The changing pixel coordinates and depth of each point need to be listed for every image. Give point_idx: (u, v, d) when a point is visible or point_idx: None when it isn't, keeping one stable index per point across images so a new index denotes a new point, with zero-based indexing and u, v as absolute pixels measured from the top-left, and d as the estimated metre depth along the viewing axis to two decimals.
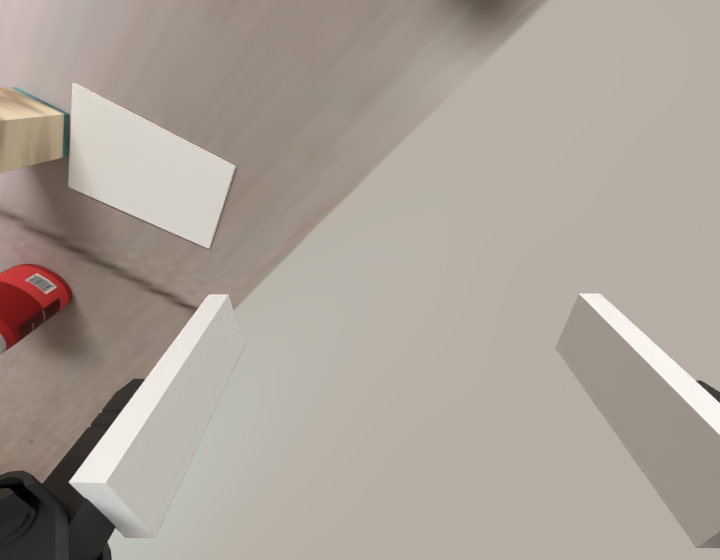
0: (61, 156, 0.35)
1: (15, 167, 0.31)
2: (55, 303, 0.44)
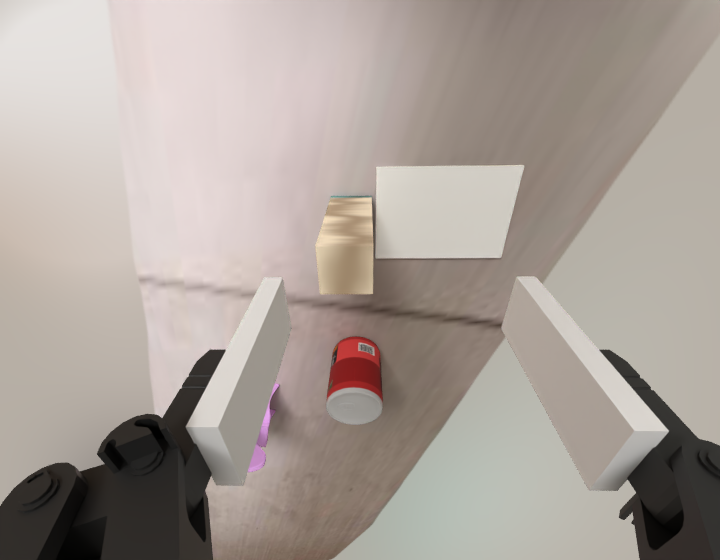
0: None
1: None
2: (380, 361, 0.50)
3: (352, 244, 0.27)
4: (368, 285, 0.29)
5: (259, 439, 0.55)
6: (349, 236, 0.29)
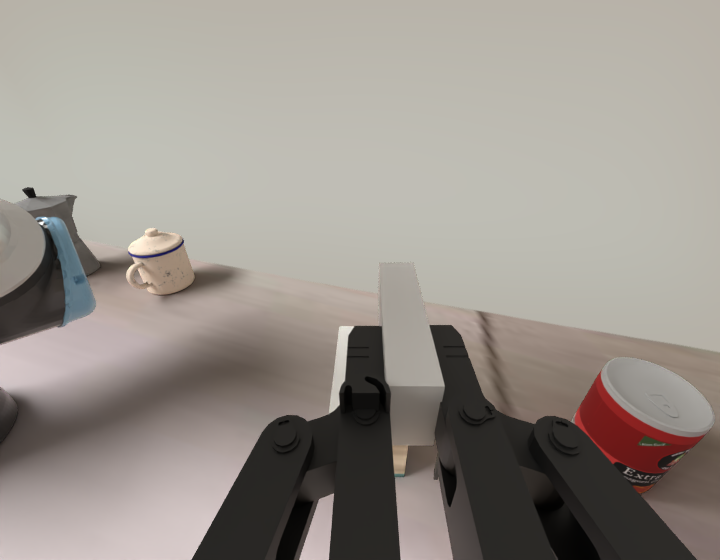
0: None
1: None
2: None
3: None
4: None
5: None
6: None
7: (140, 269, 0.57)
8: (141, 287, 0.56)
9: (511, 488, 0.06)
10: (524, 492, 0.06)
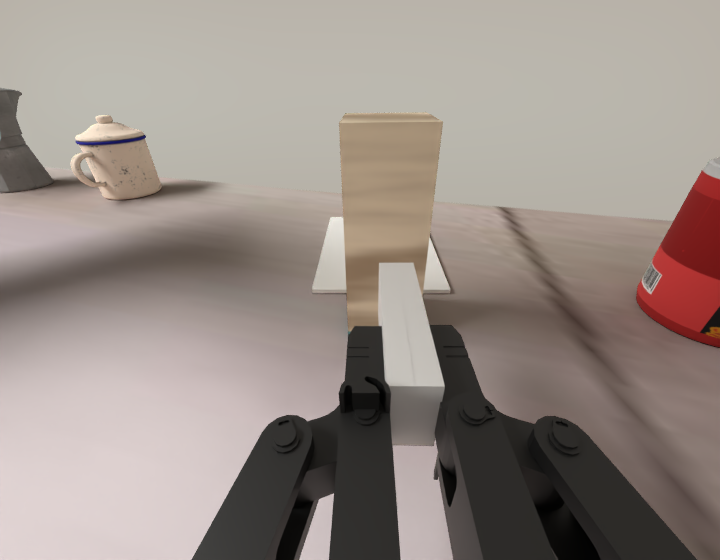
0: None
1: None
2: None
3: None
4: (411, 113, 0.19)
5: None
6: None
7: (90, 163, 0.47)
8: (90, 183, 0.46)
9: (511, 488, 0.06)
10: (524, 492, 0.06)
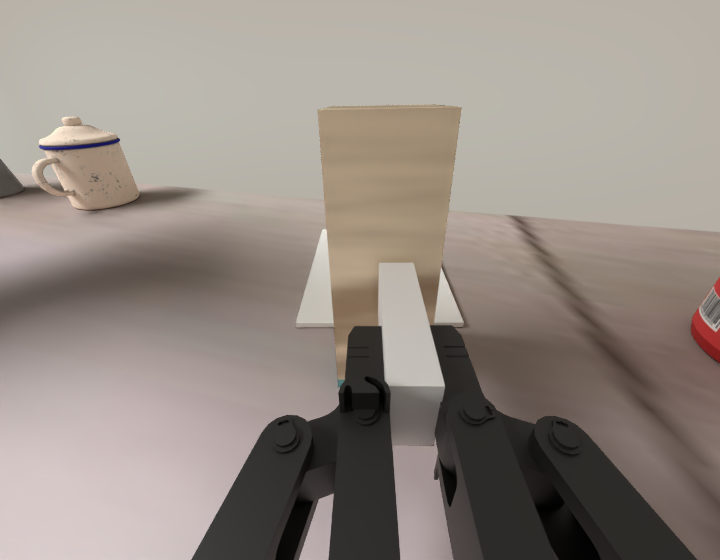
0: None
1: None
2: None
3: None
4: None
5: None
6: None
7: (56, 170, 0.43)
8: (56, 192, 0.42)
9: (511, 488, 0.06)
10: (524, 492, 0.06)
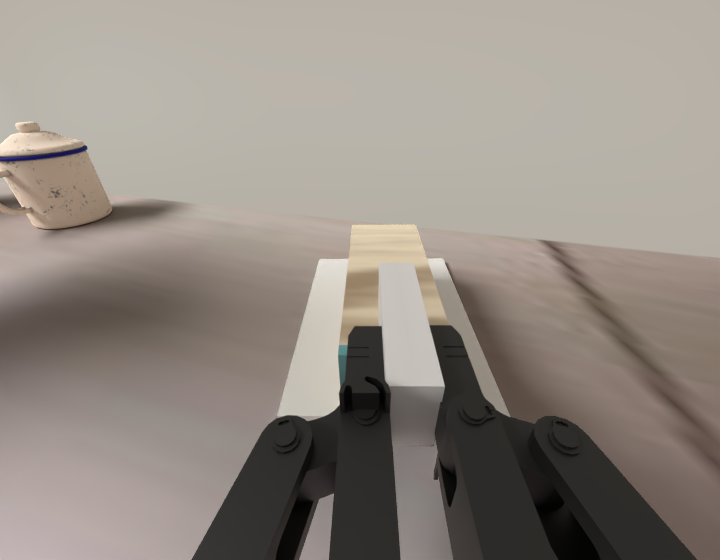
0: None
1: None
2: None
3: None
4: None
5: None
6: None
7: (10, 184, 0.36)
8: (7, 210, 0.36)
9: (511, 488, 0.06)
10: (524, 492, 0.06)
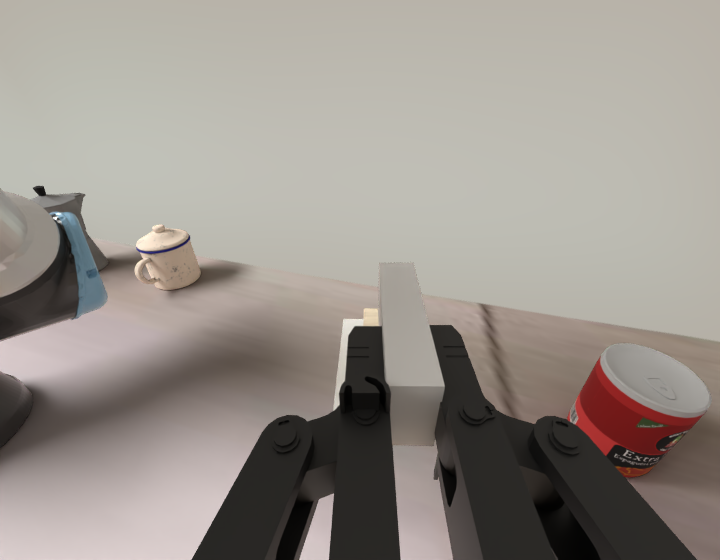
0: None
1: None
2: None
3: None
4: None
5: None
6: None
7: (148, 265, 0.58)
8: (149, 282, 0.57)
9: (511, 488, 0.06)
10: (524, 492, 0.06)
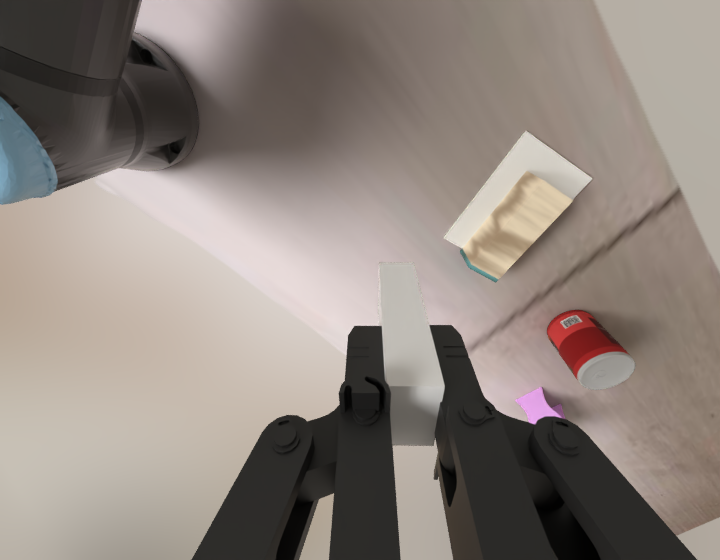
0: None
1: None
2: (592, 320, 0.52)
3: (530, 176, 0.41)
4: None
5: None
6: (521, 188, 0.41)
7: None
8: None
9: (511, 488, 0.06)
10: (524, 492, 0.06)
